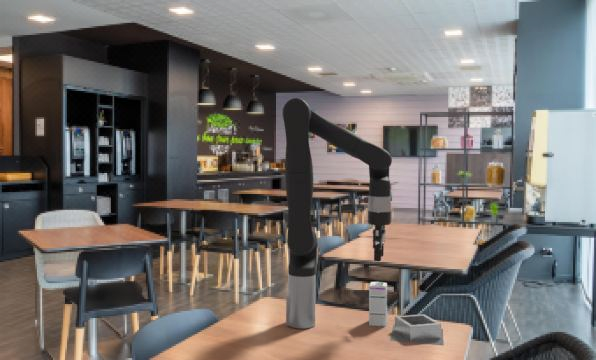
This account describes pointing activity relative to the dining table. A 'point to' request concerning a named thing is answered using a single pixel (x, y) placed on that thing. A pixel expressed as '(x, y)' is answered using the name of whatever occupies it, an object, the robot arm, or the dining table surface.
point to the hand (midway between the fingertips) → (378, 258)
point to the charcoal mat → (397, 337)
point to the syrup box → (378, 304)
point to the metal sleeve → (417, 327)
